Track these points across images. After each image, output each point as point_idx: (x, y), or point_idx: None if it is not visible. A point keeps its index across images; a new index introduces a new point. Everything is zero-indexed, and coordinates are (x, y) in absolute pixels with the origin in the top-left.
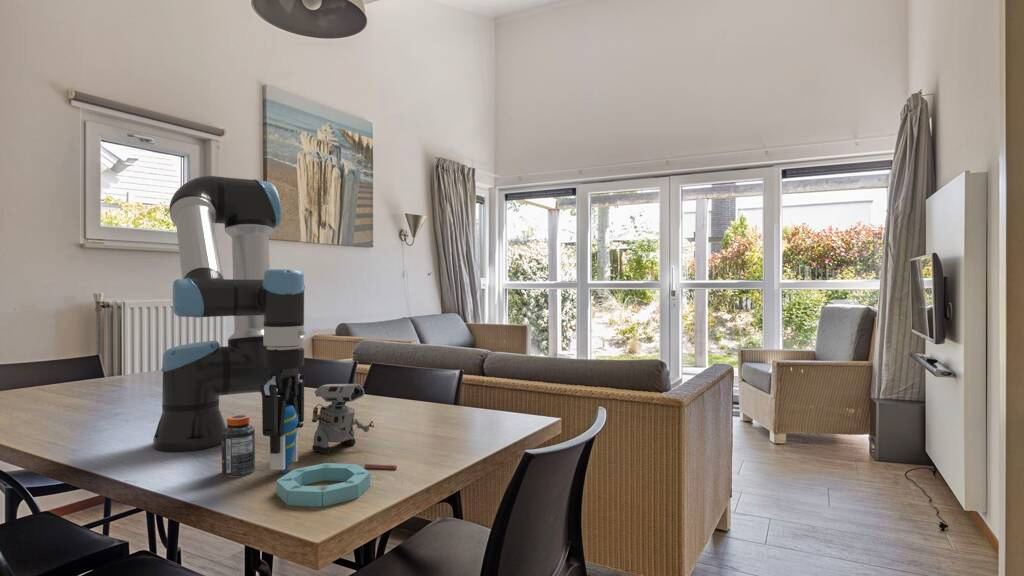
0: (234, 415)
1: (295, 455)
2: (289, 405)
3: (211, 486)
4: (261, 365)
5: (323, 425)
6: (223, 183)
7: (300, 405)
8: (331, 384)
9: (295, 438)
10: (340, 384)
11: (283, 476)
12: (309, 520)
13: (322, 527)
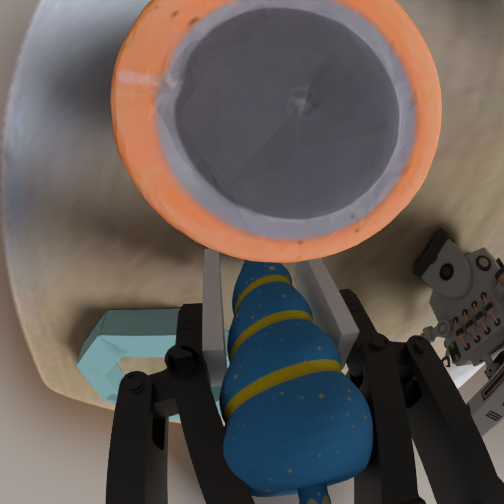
0: (387, 5)
1: (300, 293)
2: (331, 483)
3: (90, 103)
4: None
5: (470, 301)
6: None
7: (412, 435)
8: None
9: None
10: None
11: (127, 336)
12: (69, 376)
13: (67, 388)
